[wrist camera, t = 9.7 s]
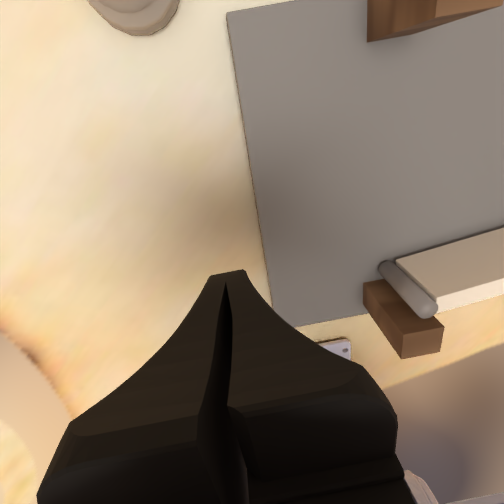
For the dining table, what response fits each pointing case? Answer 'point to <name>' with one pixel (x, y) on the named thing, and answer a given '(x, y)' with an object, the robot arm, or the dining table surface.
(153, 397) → the robot arm
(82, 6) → the dining table surface
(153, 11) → the rook chess piece
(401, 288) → the gate leaf
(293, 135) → the base
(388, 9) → the gate posts
